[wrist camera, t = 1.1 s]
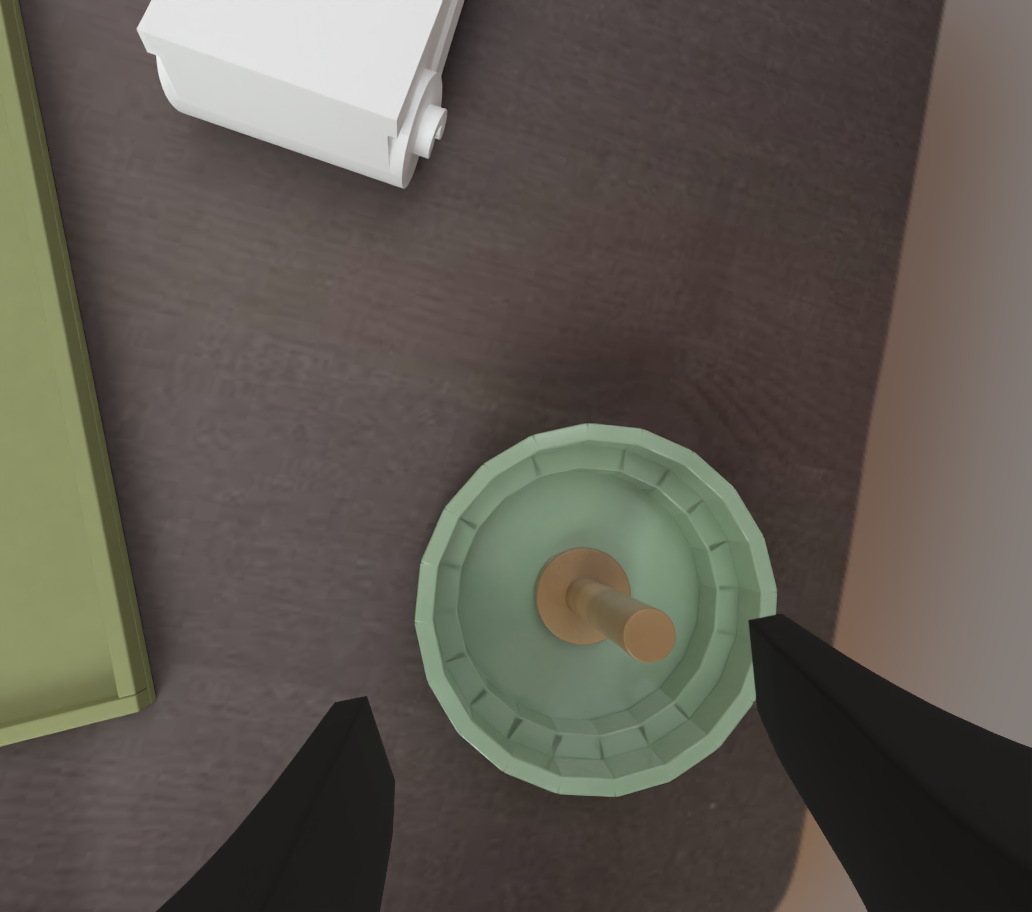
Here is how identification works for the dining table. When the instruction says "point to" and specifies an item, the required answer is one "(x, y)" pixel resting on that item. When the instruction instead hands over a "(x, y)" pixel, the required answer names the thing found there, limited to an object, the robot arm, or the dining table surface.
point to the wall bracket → (312, 74)
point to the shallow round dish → (605, 666)
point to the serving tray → (53, 459)
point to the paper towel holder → (599, 605)
